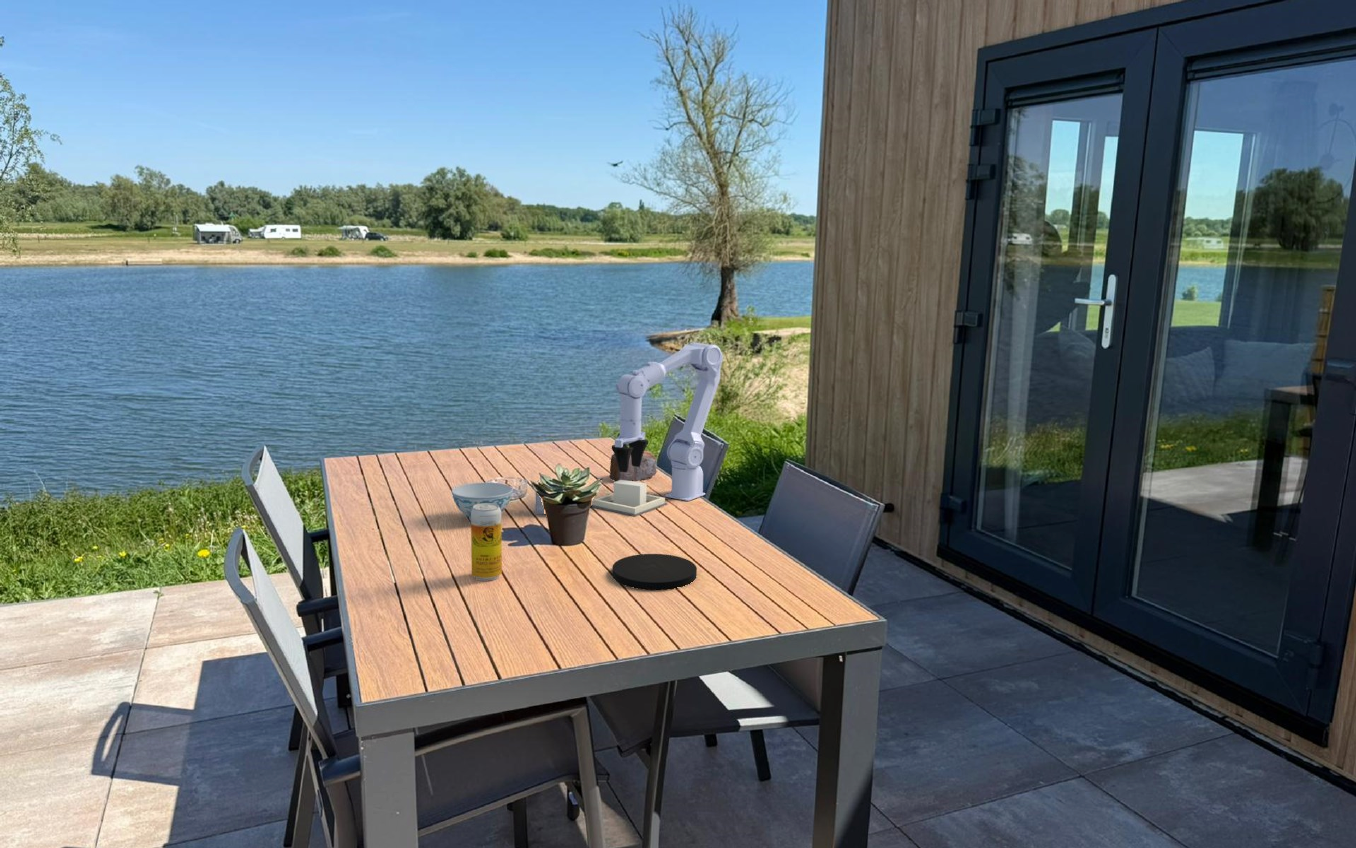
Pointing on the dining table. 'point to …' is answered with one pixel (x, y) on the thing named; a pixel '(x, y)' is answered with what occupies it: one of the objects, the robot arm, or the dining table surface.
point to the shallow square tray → (608, 504)
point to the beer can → (486, 541)
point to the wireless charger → (654, 571)
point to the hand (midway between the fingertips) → (629, 468)
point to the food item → (634, 468)
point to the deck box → (629, 493)
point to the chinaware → (481, 495)
